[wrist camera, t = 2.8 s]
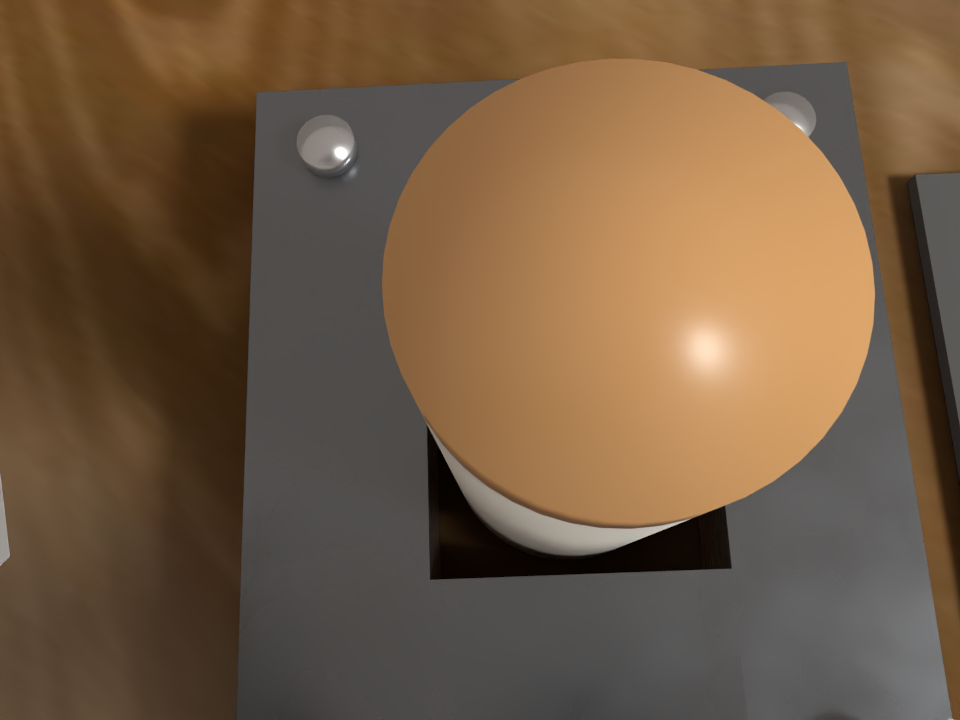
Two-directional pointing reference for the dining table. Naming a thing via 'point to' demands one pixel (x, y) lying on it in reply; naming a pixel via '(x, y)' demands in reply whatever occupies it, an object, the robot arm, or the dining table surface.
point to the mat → (942, 277)
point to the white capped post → (624, 301)
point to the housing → (554, 598)
